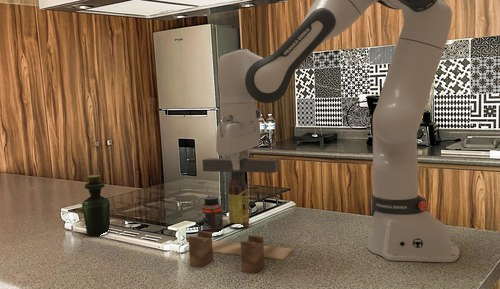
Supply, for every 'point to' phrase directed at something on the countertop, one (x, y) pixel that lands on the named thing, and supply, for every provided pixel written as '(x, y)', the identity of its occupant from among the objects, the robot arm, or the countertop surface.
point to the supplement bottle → (212, 215)
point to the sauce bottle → (238, 200)
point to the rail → (246, 165)
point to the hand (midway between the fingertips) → (240, 168)
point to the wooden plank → (235, 249)
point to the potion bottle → (96, 208)
